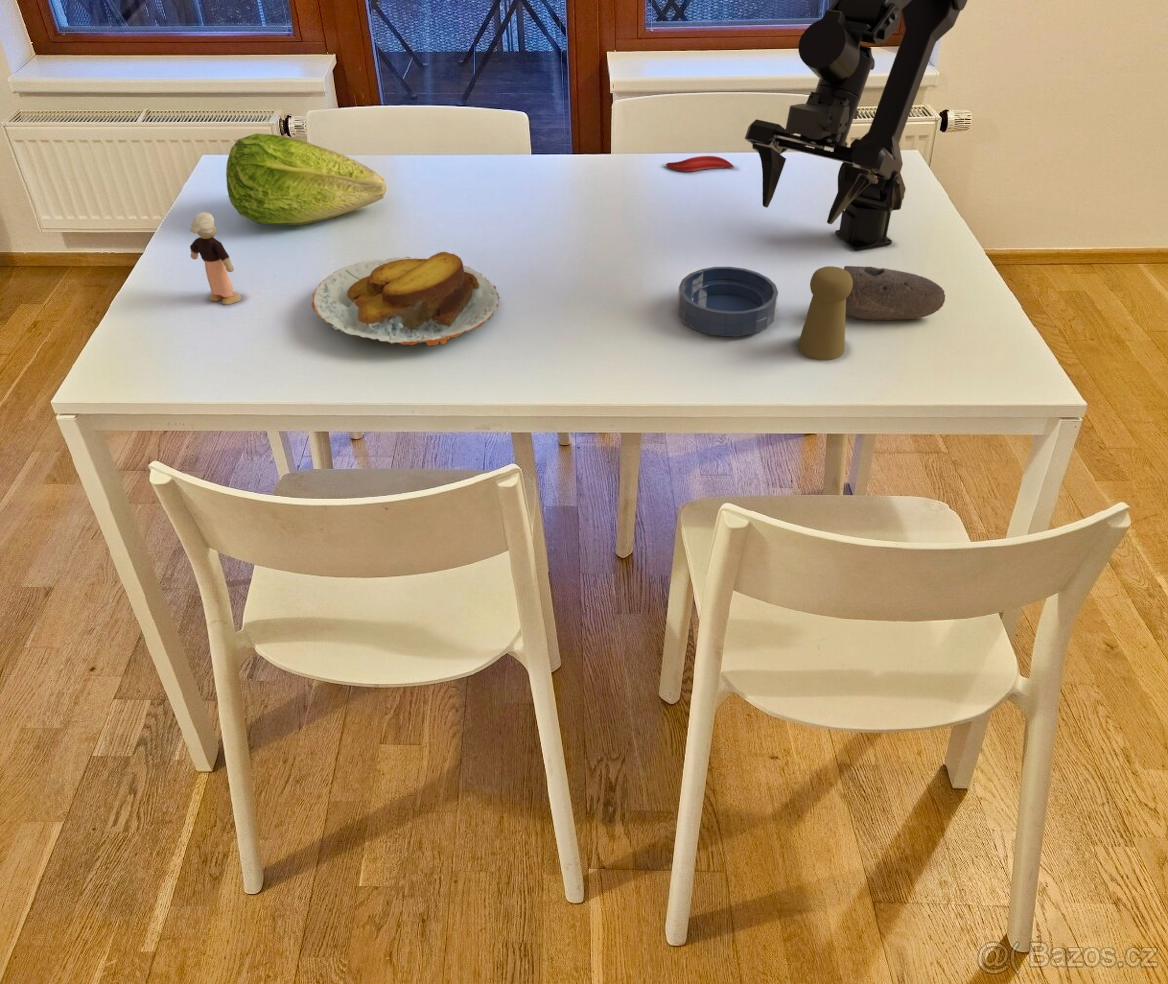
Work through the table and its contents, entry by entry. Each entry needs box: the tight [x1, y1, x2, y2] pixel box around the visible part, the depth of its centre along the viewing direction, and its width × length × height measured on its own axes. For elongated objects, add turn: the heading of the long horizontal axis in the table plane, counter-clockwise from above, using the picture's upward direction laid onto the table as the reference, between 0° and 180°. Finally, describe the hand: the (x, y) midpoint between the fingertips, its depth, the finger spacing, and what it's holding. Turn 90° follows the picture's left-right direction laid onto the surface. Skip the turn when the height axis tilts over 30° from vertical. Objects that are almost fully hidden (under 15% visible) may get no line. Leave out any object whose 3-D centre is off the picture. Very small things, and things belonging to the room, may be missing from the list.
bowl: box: [677, 266, 779, 337], centre depth 140 cm, size 13×13×4 cm
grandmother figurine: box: [189, 211, 242, 305], centre depth 142 cm, size 8×4×13 cm, turn 71°
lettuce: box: [225, 133, 387, 226], centre depth 164 cm, size 15×24×14 cm, turn 98°
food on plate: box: [310, 251, 500, 346], centre depth 141 cm, size 25×25×7 cm
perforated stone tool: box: [843, 265, 946, 321], centre depth 139 cm, size 15×5×7 cm, turn 83°
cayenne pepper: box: [665, 155, 735, 172], centre depth 181 cm, size 12×5×2 cm, turn 79°
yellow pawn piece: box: [797, 266, 853, 361], centre depth 131 cm, size 6×6×11 cm
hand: (796, 215), depth 134 cm, fingers open, 9 cm apart
